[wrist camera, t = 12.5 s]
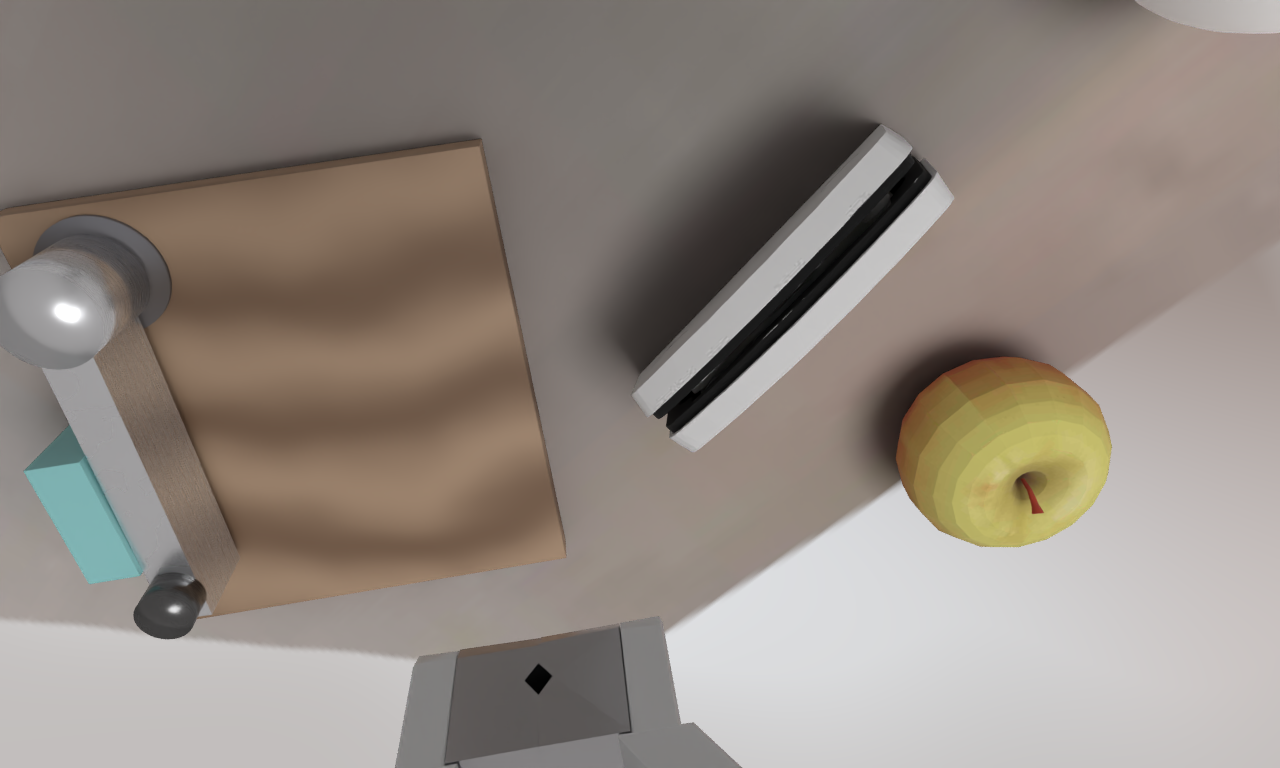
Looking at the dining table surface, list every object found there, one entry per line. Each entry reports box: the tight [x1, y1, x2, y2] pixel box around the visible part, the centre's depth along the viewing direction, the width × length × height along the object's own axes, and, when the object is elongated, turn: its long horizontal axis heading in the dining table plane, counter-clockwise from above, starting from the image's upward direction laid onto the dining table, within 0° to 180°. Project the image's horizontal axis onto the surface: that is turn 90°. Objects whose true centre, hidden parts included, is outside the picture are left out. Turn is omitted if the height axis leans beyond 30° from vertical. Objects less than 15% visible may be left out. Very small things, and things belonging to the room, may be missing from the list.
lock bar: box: [0, 234, 240, 639], centre depth 35 cm, size 17×4×6 cm, turn 6°
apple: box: [896, 357, 1112, 547], centre depth 41 cm, size 10×10×8 cm
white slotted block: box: [631, 124, 954, 452], centre depth 36 cm, size 17×5×10 cm, turn 138°
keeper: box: [24, 425, 143, 584], centre depth 37 cm, size 6×2×5 cm, turn 7°
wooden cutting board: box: [0, 139, 566, 619], centre depth 39 cm, size 22×20×2 cm
